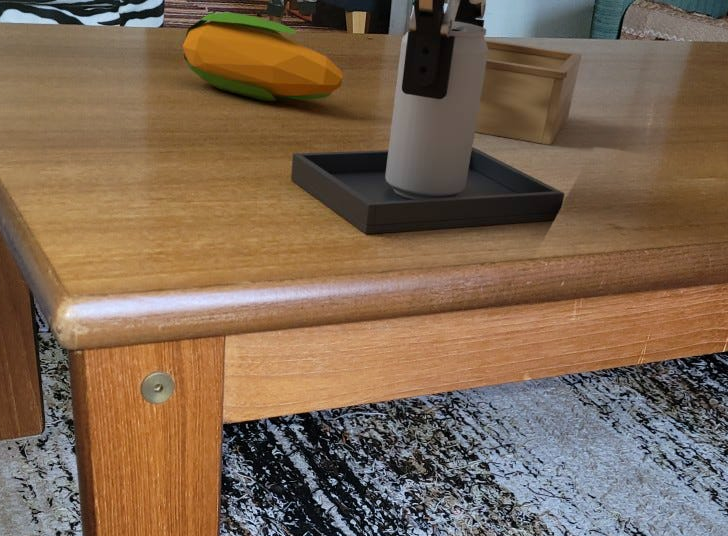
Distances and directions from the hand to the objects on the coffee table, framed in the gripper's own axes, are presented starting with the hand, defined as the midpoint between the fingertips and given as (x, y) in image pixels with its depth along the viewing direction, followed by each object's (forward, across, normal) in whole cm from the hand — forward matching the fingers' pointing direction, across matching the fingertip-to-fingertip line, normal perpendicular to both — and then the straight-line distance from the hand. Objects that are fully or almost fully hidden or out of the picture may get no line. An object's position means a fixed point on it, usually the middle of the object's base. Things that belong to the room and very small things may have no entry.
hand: (440, 84), depth 74 cm
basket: (+9, +32, 0) cm, 33 cm away
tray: (+8, 0, 0) cm, 8 cm away
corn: (+9, +25, +24) cm, 36 cm away
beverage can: (+8, 0, 0) cm, 8 cm away
